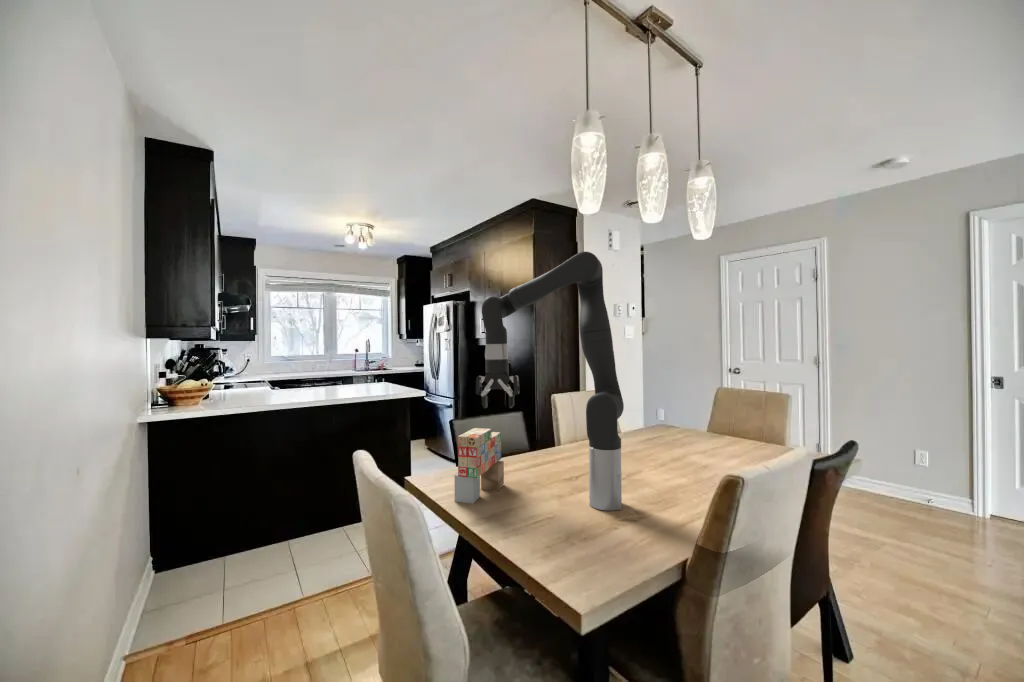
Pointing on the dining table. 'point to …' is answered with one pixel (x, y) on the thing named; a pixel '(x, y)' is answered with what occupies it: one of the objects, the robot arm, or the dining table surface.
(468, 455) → the stack of blocks
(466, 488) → the grey rectangular block
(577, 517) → the dining table surface
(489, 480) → the brown wooden block
